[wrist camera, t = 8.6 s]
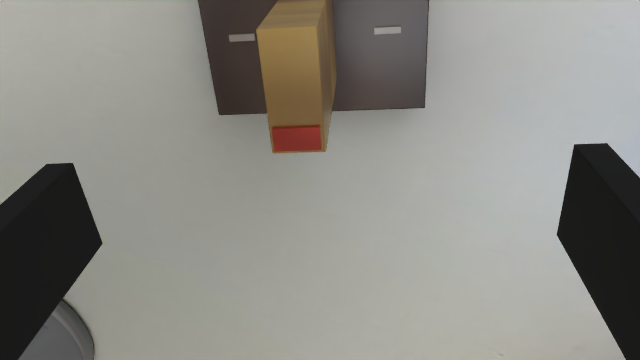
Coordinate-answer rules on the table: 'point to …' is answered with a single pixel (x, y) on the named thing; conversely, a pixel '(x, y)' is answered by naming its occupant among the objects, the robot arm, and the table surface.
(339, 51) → the plate
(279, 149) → the thumb turn
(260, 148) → the table surface
